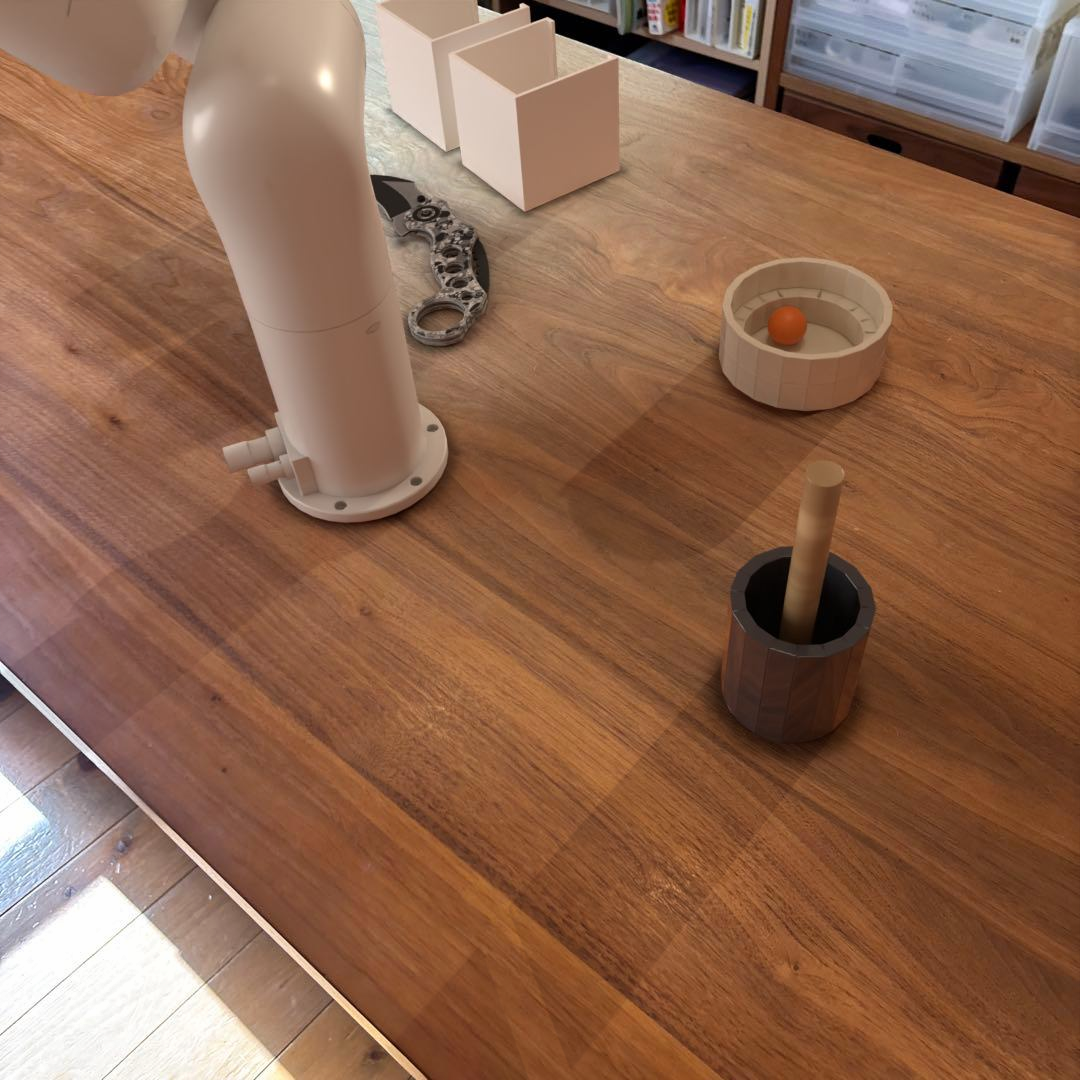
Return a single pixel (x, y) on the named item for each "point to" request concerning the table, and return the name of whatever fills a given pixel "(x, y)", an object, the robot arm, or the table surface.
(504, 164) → the open boxes
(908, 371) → the table surface
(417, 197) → the knife
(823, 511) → the stirring stick
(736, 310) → the bowl
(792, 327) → the bead
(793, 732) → the utensil pot
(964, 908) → the table surface
